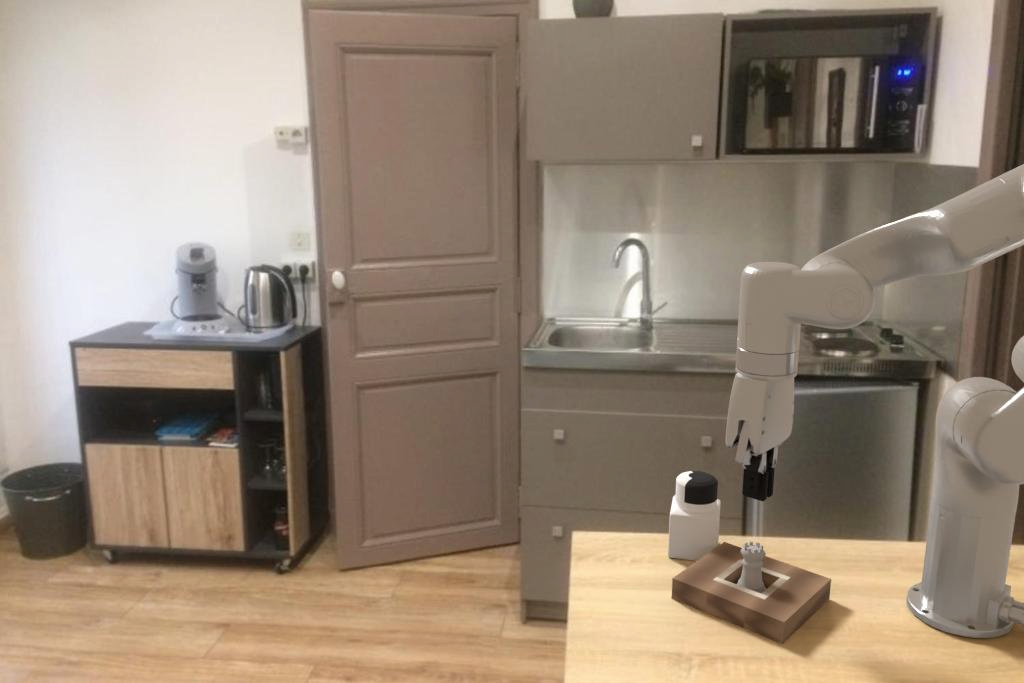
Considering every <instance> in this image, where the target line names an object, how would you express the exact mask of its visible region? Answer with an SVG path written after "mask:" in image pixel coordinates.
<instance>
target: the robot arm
mask: <svg viewBox="0 0 1024 683" xmlns="http://www.w3.org/2000/svg"><path fill="white" fill-rule="evenodd" d="M1022 246H1024V163H1023V164H1021V165H1019V166H1017V167H1014V168H1013V169H1011V170H1009V171H1006V172H1004V173H1001V175H998V176H996V177H994V178H992V179H990V180H988V181H986V182H984V183H982V184H979V185H978V186H975V187H973V188H971V189H969V190H967V191H965V192H963V193H961V194H959V195H957V196H955V197H953V198H951V199H947V200H946V201H944V202H942V203H940V204H937V205H935V206H933V207H931V208H928V209H926V210H923V211H919V212H917V213H914V214H911V215H908V216H906V217H903V218H901V219H898V220H895V221H893V222H890V223H887V224H884V225H882V226H879V227H876V228H873V229H869V230H868V231H866V232H863V233H861V234H859V235H856V236H855V237H852V238H849V239H848V240H846V241H843V242H842V243H840V244H838V245H836V246H833V247H831V248H829V249H827V250H825V251H824V252H822V253H820V254H818V255H816V256H814V257H813V258H811V259H810V260H809V261H808V262H806V263H805V264H804V265H803V266H802V268H800V266H797V265H795V264H793V263H789V262H788V263H787V262H783V261H782V262H781V261H758V262H757V261H756V262H753V263H749V264H747V265H746V266H745V267H744V268H743V270H742V271H741V276H740V287H739V301H738V302H739V304H738V306H739V307H738V318H737V319H738V320H737V339H736V353H735V368H734V371H735V375H734V378H733V382H732V387H731V390H730V395H729V396H730V397H729V403H728V411H727V418H726V428H725V445H726V447H727V448H729V449H733V448H735V447H737V449H736V454H735V458H734V462H735V463H736V464H740V465H742V467H741V468H742V469H743V478H742V479H743V480H742V495H743V496H744V497H747V498H749V499H754V500H757V501H760V502H765V501H767V499H768V498H770V497H772V496H773V495H774V485H775V484H774V483H775V467H776V465H777V462H778V454H779V449H780V446H781V445H782V444H783V443H784V441H786V440H787V439H788V438H790V436H791V435H792V431H793V424H794V415H795V414H794V413H795V378H796V376H797V375H798V366H799V355H800V354H799V352H800V343H801V342H800V341H801V327H802V325H808V326H813V327H819V328H824V329H831V330H848V329H851V328H854V327H857V326H859V325H861V324H862V323H864V322H866V321H867V319H868V318H870V315H871V314H872V313H873V311H874V309H875V305H876V292H875V290H877V289H879V288H881V287H885V286H886V285H889V284H893V283H895V282H898V281H899V282H900V281H902V280H905V279H910V278H917V277H924V276H945V275H946V276H947V275H955V274H958V273H963V272H968V271H970V270H973V269H976V268H977V267H979V266H981V265H983V264H986V263H987V262H990V261H993V260H994V259H996V258H998V257H1001V256H1003V255H1005V254H1007V253H1009V252H1012V251H1014V250H1016V249H1018V248H1021V247H1022ZM1011 352H1012V353H1011V359H1010V360H1011V365H1012V368H1013V371H1014V373H1015V375H1016V376H1017V377H1018V378H1019V379H1020V380H1021V382H1023V383H1024V335H1023V336H1021V337H1020V338H1019V340H1017V342H1016V344H1015V345H1014V347H1013V349H1012V351H1011ZM934 470H935V471H934V479H933V489H932V495H931V502H930V511H929V518H928V526H927V535H926V543H925V551H924V559H923V568H922V575H921V576H922V577H921V582H918V583H915V584H913V585H912V586H911V587H909V589H908V590H907V594H906V604H907V607H908V610H910V611H911V613H912V614H913V615H914V616H916V617H917V619H919V620H920V621H922V622H923V623H925V624H926V625H927V624H928V625H929V626H931V627H933V628H935V629H938V630H940V631H943V632H944V633H945V632H946V633H949V634H951V635H956V636H958V637H959V636H960V637H965V638H974V639H991V638H996V637H1001V636H1004V635H1006V634H1008V633H1009V632H1010V631H1011V630H1012V629H1013V627H1014V624H1015V623H1016V624H1018V625H1021V626H1023V627H1024V601H1023V602H1022V601H1020V600H1019V601H1018V600H1016V599H1015V597H1013V596H1011V590H1012V585H1008V584H1006V580H1007V575H1008V567H1009V562H1010V554H1011V547H1012V543H1013V542H1012V541H1013V535H1014V534H1013V533H1014V528H1015V522H1016V514H1017V511H1018V510H1017V509H1018V503H1019V497H1020V495H1019V494H1020V485H1024V386H1022V388H1021V389H1019V390H1018V391H1016V390H1014V388H1012V387H1011V386H1010V385H1007V384H1005V383H1004V382H1002V381H999V380H997V379H994V378H990V377H985V376H973V377H967V378H964V379H962V380H960V381H958V382H955V383H954V384H953V385H951V386H950V387H949V388H948V389H947V390H946V391H945V392H944V394H943V395H942V397H941V398H940V401H939V403H938V406H937V410H936V416H935V469H934Z"/></svg>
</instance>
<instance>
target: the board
mask: <svg viewBox="0 0 1024 683" xmlns="http://www.w3.org/2000/svg"><path fill="white" fill-rule="evenodd" d="M742 548H743V547H740V546H737V545H735V544H731V543H729V542H726V541H723V542H722V543H721V544H718V547H716V548H715V549H713V550H712V551H711V552H709V553H708V554H706V555H705V556H703V557H702V558H701V559H699V560H698V561H695V562H694V563H692V564H690V565H689V566H687V568H685V569H684V570H682V571H680V572H679V573H678V574H676V575H675V576H674V577H672V578H671V579H672V580H671V581H672V582H671V583H672V584H671V600H672V599H673V600H675V601H678V602H680V603H683V604H685V605H687V606H689V607H692V608H695V609H697V610H700V611H702V612H705V613H706V612H707V614H709V615H711V616H714V617H717V618H718V619H721V620H724V621H726V622H728V623H731V624H733V625H735V626H738V627H741V628H743V629H746V630H748V631H749V632H753V633H756V634H757V635H761V636H763V637H765V638H767V639H770V640H773V641H775V642H777V643H780V644H782V645H783V644H784V643H785V642H786V641H787V640H788V639H789V638H790V637H791V636H793V635H794V633H795V632H796V631H798V630H799V628H801V627H802V626H803V625H804V624H805V623H806V622H807V621H808V620H809V619H810V618H811V617H812V616H813V615H814V614H816V613H817V611H819V610H820V608H822V607H823V606H824V605H825V604H826V603H827V602H828V601H829V600H830V596H831V585H832V578H830V577H827V576H825V575H821V574H818V573H815V572H813V571H810V570H807V569H804V568H801V567H798V566H795V565H792V564H789V563H786V562H784V561H780V560H779V559H778V560H777V559H775V558H772V557H769V556H766V555H765V557H764V558H763V559H762V562H763V566H762V568H761V573H762V581H763V583H764V586H765V588H766V590H765V591H764V592H762V593H758V592H755V591H753V590H750V589H747V588H745V587H742V586H739V585H737V584H736V583H738V580H739V579H740V578H741V574H742V570H743V564H742V560H743V559H744V557H743V555H742V554H741V552H740V551H741V549H742Z"/></svg>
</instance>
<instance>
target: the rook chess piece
mask: <svg viewBox="0 0 1024 683" xmlns="http://www.w3.org/2000/svg"><path fill="white" fill-rule="evenodd" d="M741 548H742V549H741V551H740V552H741V554H742V555H743V557H744V559H743V560H742V564H743V570H742V574H741V578H740V579H739V580H738V583H736V584H737V585H739V586H742V587H745V588H747V589H750V590H753V591H755V592H758V593H762V592H764V591H765V590H766V588H765V586H764V583H763V581H762V573H761V568H762V566H763V562H762V559H763V558H764V557H765V556H766V555H767V553H766V551H765V550H764V546H763V544H761V543H760V542H755V544H754V541H749V542H744V543H743V547H741Z"/></svg>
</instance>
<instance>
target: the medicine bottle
mask: <svg viewBox="0 0 1024 683" xmlns="http://www.w3.org/2000/svg"><path fill="white" fill-rule="evenodd" d="M718 487H719V481H718V479H717V478H716V477H715V476H714V475H712V474H710V473H708V472H705V471H701V470H689V471H685V472H681V473H680V474H678V476H677V477H676V479H675V494H674V495H673V496H672V501H671V507H670V512H669V519H668V520H669V521H668V522H669V524H668V547H667V556H668V558H670V559H679V560H686V561H687V560H688V561H695V562H696V561H698V560H699V559H701V558H702V557H703V556H705V555H706V554H708V553H709V552H711V551H712V550H713V549H715V548H716V547H718V546H719V536H720V523H721V522H720V518H721V505H722V503H721V500H720V499H718V490H719V489H718Z"/></svg>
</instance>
